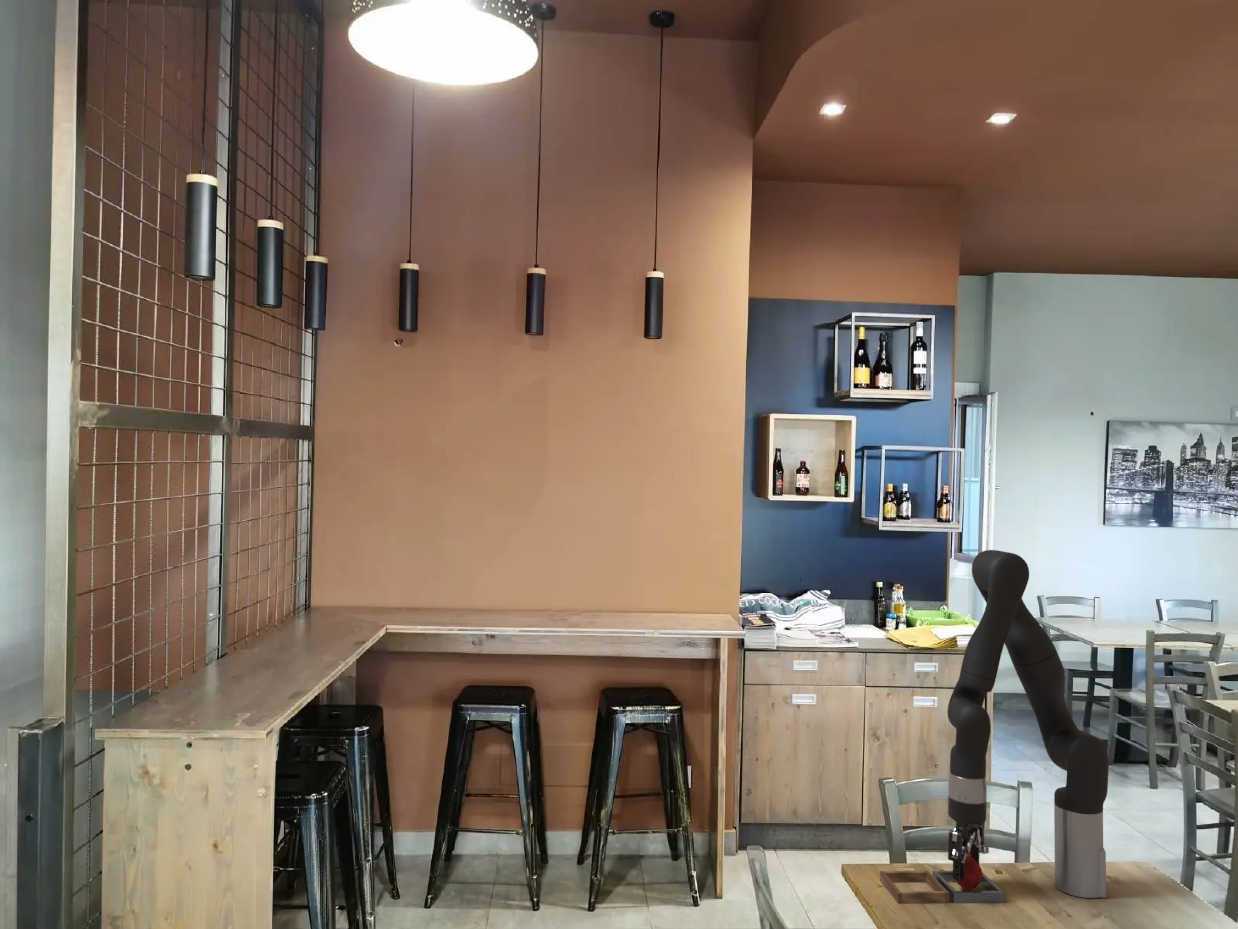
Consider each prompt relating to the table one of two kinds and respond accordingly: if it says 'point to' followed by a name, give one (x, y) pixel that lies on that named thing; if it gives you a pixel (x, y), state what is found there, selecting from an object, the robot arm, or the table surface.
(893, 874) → the walnut frame
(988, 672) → the robot arm
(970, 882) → the pomegranate
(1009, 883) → the table surface
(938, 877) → the grey frame
